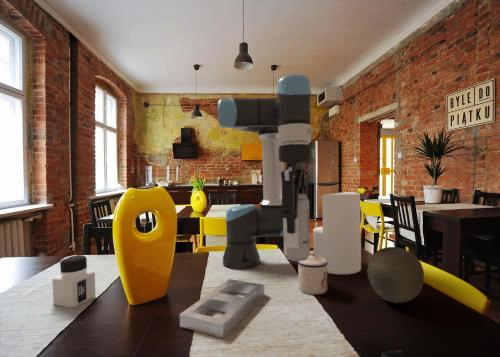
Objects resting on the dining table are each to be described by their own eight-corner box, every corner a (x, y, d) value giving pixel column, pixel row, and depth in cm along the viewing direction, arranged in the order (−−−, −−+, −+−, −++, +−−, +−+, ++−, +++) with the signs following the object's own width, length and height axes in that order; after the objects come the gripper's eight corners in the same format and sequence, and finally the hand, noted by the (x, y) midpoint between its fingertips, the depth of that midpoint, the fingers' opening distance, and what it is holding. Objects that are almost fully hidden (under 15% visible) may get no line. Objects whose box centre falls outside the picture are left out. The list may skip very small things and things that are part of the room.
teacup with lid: (328, 296, 82) (327, 256, 81) (297, 294, 84) (296, 255, 84) (327, 280, 93) (326, 246, 93) (299, 279, 95) (298, 245, 95)
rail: (229, 288, 89) (229, 279, 89) (264, 294, 84) (264, 284, 84) (179, 326, 67) (179, 314, 67) (223, 338, 62) (222, 324, 62)
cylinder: (369, 266, 107) (368, 192, 106) (344, 278, 95) (343, 196, 95) (330, 256, 120) (329, 191, 119) (304, 266, 109) (303, 193, 108)
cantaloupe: (360, 291, 84) (359, 242, 84) (408, 291, 84) (408, 241, 83) (379, 315, 70) (378, 256, 70) (437, 316, 69) (436, 255, 69)
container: (96, 296, 85) (94, 254, 85) (72, 308, 78) (71, 262, 78) (77, 293, 88) (75, 252, 87) (52, 305, 80) (51, 259, 80)
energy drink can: (310, 262, 62) (309, 195, 62) (283, 261, 63) (282, 195, 63) (309, 254, 68) (308, 192, 68) (284, 253, 69) (283, 193, 69)
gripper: (299, 139, 55) (301, 256, 56) (319, 146, 72) (320, 236, 73) (264, 142, 58) (266, 252, 59) (291, 148, 75) (292, 234, 76)
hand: (296, 243), depth 66 cm, fingers closed on energy drink can, 6 cm apart
